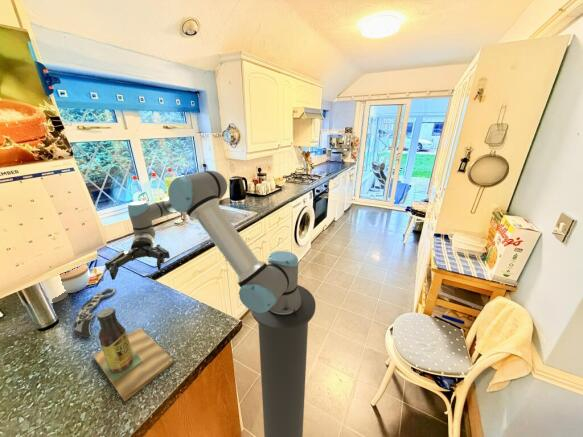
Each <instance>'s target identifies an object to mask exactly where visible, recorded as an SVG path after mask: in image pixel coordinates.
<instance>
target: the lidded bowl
mask: <svg viewBox="0 0 583 437" xmlns="http://www.w3.org/2000/svg"><path fill="white" fill-rule="evenodd" d="M83 264H84V265H82V266H80V267H78V268H75V269H73V270H71V271H68V272H66V273H63V274H61V275H60V277H61V281H62V285H63V286H64V289H65V290H66V291H67V292H66V293H69V294H71V293H76V292H80V291H82V290H83V289H84V288H86V286H87V285H88V283H89V282H90V280H91V279H90V278H91V273H90V269H89V266H88V264H86V263H83Z"/></svg>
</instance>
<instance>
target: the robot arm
mask: <svg viewBox="0 0 583 437" xmlns="http://www.w3.org/2000/svg"><path fill="white" fill-rule="evenodd" d="M167 187H168V189H167V192H168V193H167V197H166V198H164V199H161V200H159V201H158V200H157V201H155V202H151V203H148V202H147V201H145V200H139V201H133V202H131V203H129V204H128V206H127V211H128V216H129V219H130V222H131V227H132V229H133V234H134V238H133V240H132V242H131V243H132V244H131V246H130V249H129V250H128V251H125V250H120V251H119V252H118V254H116V255H114V256H113V257H111V258H110V259H109V260H108V261H107V262H105V263H104V266H105V269H106V271H108V272H109V275H110V277H111V280H112V281H114V280H116V279H117V278H116V277H117V275H118V273H119V268H121V267H122V266H124V265H125V264H127V263H129V262H133V261H135V260H136V259H140V258H146V257H147V258H154V259H156V266H157V271H161V269H162V264H164V263H165V260H166V259H170V258H171V255H170V251H168V250H167V249H165V248H163V247H162V246H161V244H156V246H154V243H155V238H156V230H155V228H154V226H153V221H156V220H158V219H160V218H163V217H166V216H169V215H173V214H175V213H182V214H184V213H186V215H187V216H188V217H189V218H190V219H192V220H197V222H198V223H199V225H201V227H202V229H203V230H204V231H205V233H206V234H207V235H208V237H209V238H210V240H211V241H212V242H213V244H214V245H215V246H216V248H217V250H218V251H219V252H220V253H221V255H222V256H223V257H224V259H225V260H226V261H227V263H228V264H229V265H230V267H231V269H232V270H233V272H235V274H236V275H237V282H236V283H237V284H238V286H239V287H240V288H239V290H238V297H239V300H240V302H241V303H242V305H243V306H244V307H246V308H247V309H248V310H250V311H251V310H252V311H255V312H258V313H263V312H266V311H269V312H270V313H272V314H274V315H278V316H288V315H292V314H294V313H295V315H297V313H296V312H297V311H298V310H299V309H300V307H301V296H300V294H299V291H298V288H297V285H299V280H298V279H299V258H298V256H297V255H296V254H294V253H293V252H291V251H288V250H287V251H286V250H277V251H273V252H271V253H269V255H268V257H267V263H266V261H262V260H259V259H258V258H257V256H256V255H255V253H253V251H252V249H251V248H250V247H249V246H248V244H247V243H246V241H245V240H244V239H243V237H242V236H241V234H240V232H238V230H237V229H236V227H235V226H234V224H232V222H231V221H230V219H229V218H228V217H227V215H226V213H225V212H224V211H223V210H222V209H221V207H220V199H222V198H224V196H225V195H226V193H227V190H228V182H227V179H226V178H225V177H224V175H223V174H221V173H220V172H218V171H215V170H203V171H199V172H194V173H189V174H182V175H180V176H176V177H174V178H172V179H171V180H170V181H169V184H168V186H167Z"/></svg>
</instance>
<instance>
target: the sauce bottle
mask: <svg viewBox="0 0 583 437" xmlns="http://www.w3.org/2000/svg"><path fill="white" fill-rule="evenodd" d="M96 319H97V321H99V325H100V330H99V333H98V339H99V343H100V347H101V351H102V350H103V353H104V356H105V359H106V362H107V365H108V367H109V368H110V371H111V372H114V373H117V372H121V371H123V370H125V369H126V368H128V367H129V366H130V364H131V363H132V361H133V353H132V350H131V346H130V343H129V340H128V336H127V335H128V334H127V330H126V328H125V327H124V326H123V325H122V324H121V323H120V322H119V321H118V319H117V315H116V310H115V308H114V307H106V308H103V309H101V310H99V311H98V312H97V314H96Z"/></svg>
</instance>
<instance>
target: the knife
mask: <svg viewBox="0 0 583 437" xmlns="http://www.w3.org/2000/svg"><path fill="white" fill-rule="evenodd" d="M106 292H111V293H108V294H105V293H106ZM115 293H116V291H115V289H114V288H111V287H110V288H106V289H104V290H102V291H99V292H97V293H95V294H94V295H93V296H92V297H91V298H90V299H88V300H87V301H86V302H85V303H83V305H82V306H81V307H80V308H79V309H78V311H77V312H78V315H77V317H76V318H75V323H76V327H75V328H74V329H73V331H74V333H76V335H78V336H81V337H86V338H88V337H93V336H92V334H91V330H90V327H91V323H92V321H93V319H94V318H95V316H96V313H92V312H93V310H94V309H95V308H96V307H97V306H98V305H99V303H100V302H101V300H103V299H106V298H109V297H112V296H114V294H115Z"/></svg>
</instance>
